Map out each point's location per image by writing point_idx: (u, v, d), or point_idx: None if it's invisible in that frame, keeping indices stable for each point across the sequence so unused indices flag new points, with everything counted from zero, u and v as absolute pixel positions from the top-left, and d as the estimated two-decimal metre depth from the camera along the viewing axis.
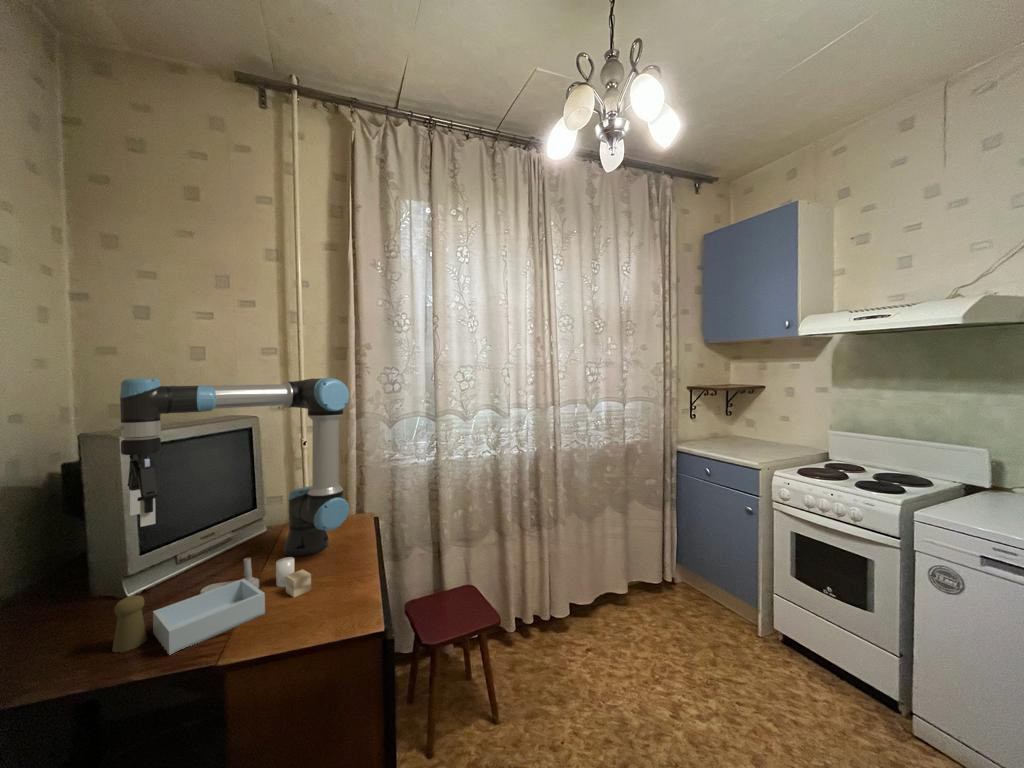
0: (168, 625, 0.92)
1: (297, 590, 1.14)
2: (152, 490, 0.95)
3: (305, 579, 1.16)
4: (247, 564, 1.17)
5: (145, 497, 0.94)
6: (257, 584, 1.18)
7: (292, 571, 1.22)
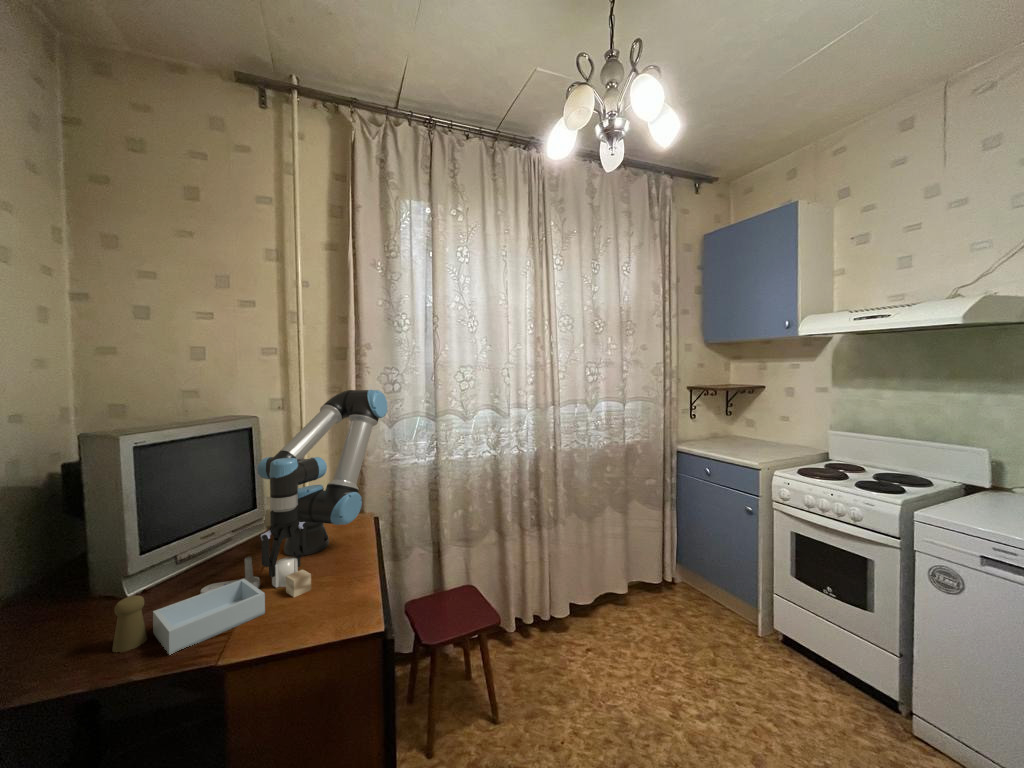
0: (168, 625, 0.92)
1: (297, 590, 1.14)
2: (263, 561, 1.17)
3: (305, 579, 1.16)
4: (248, 563, 1.18)
5: (262, 564, 1.18)
6: (258, 582, 1.19)
7: (292, 571, 1.22)
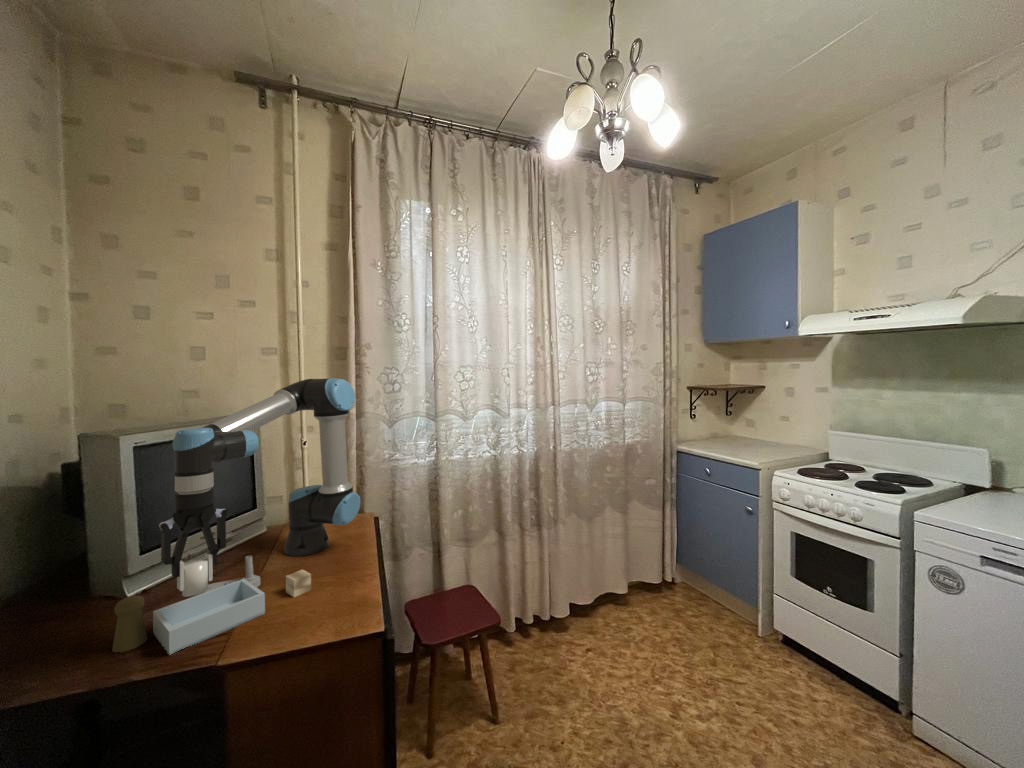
0: (168, 625, 0.92)
1: (297, 590, 1.14)
2: (163, 558, 0.91)
3: (305, 579, 1.16)
4: (249, 562, 1.19)
5: None
6: (259, 581, 1.20)
7: (203, 576, 0.96)
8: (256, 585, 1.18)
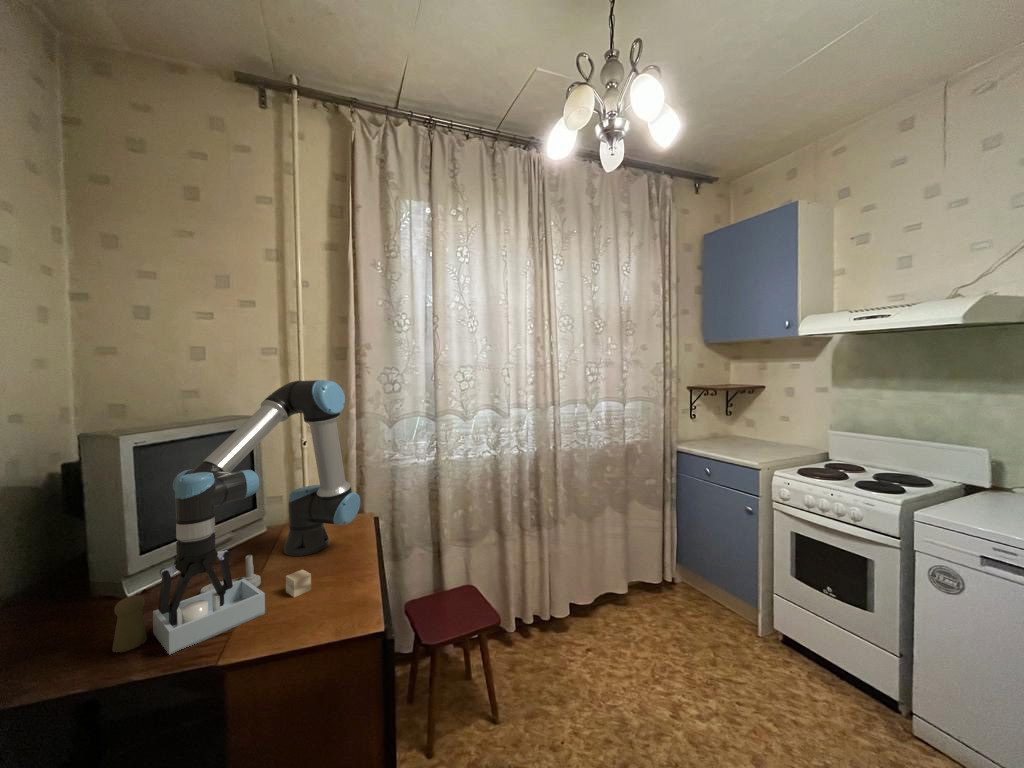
0: (168, 625, 0.92)
1: (297, 590, 1.14)
2: (160, 606, 0.91)
3: (305, 579, 1.16)
4: (249, 561, 1.19)
5: None
6: (259, 580, 1.20)
7: None
8: (257, 584, 1.19)
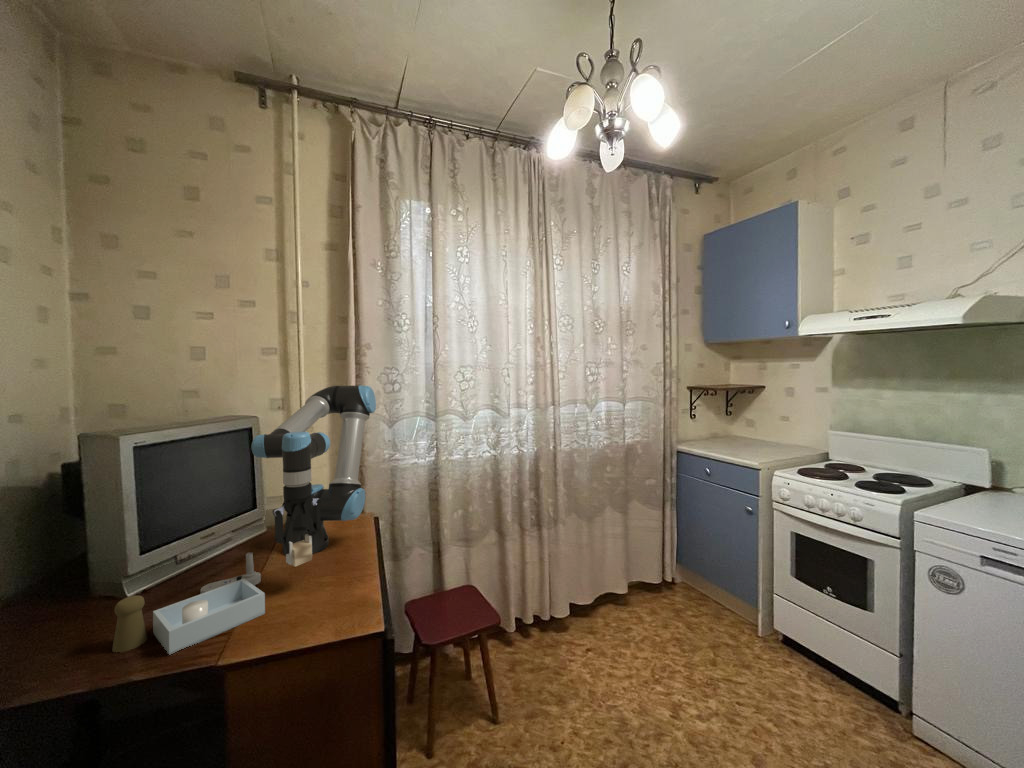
0: (168, 625, 0.92)
1: (298, 559, 1.15)
2: (277, 538, 1.12)
3: (306, 549, 1.17)
4: (250, 558, 1.21)
5: None
6: (260, 577, 1.22)
7: None
8: (258, 581, 1.21)
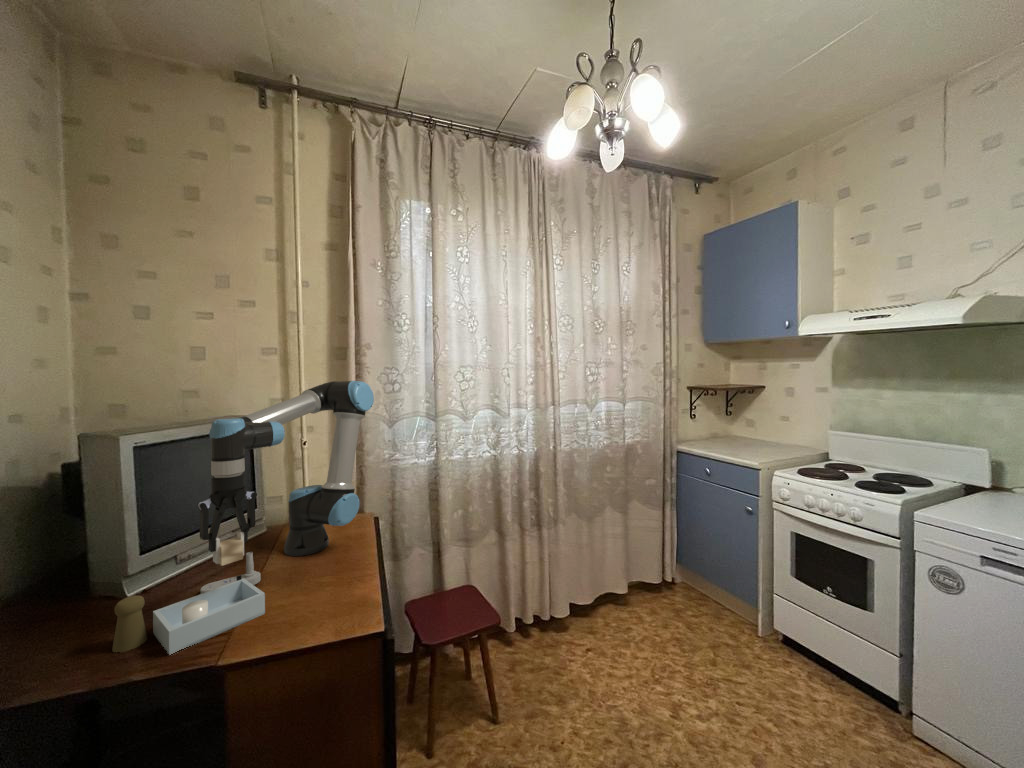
0: (168, 625, 0.92)
1: (225, 558, 1.04)
2: (201, 534, 1.02)
3: (236, 547, 1.06)
4: (250, 558, 1.21)
5: (200, 537, 1.03)
6: (260, 576, 1.23)
7: None
8: (258, 580, 1.22)
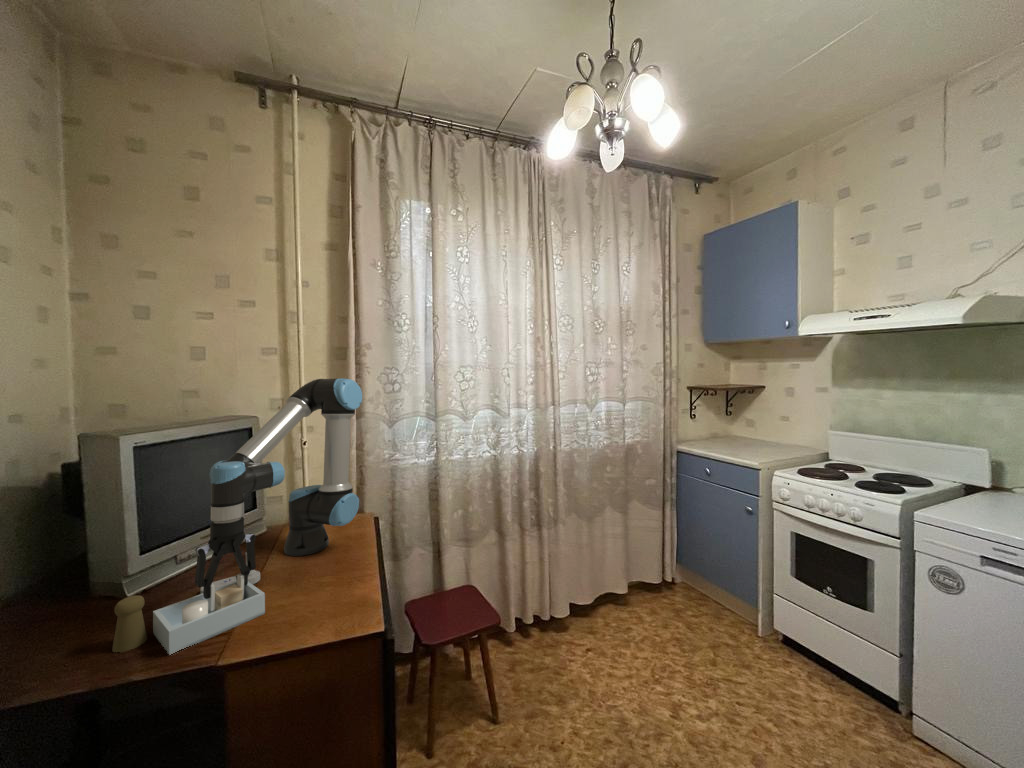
0: (168, 625, 0.92)
1: None
2: (197, 580, 1.01)
3: (235, 596, 1.06)
4: None
5: (195, 584, 1.02)
6: None
7: None
8: (258, 579, 1.22)
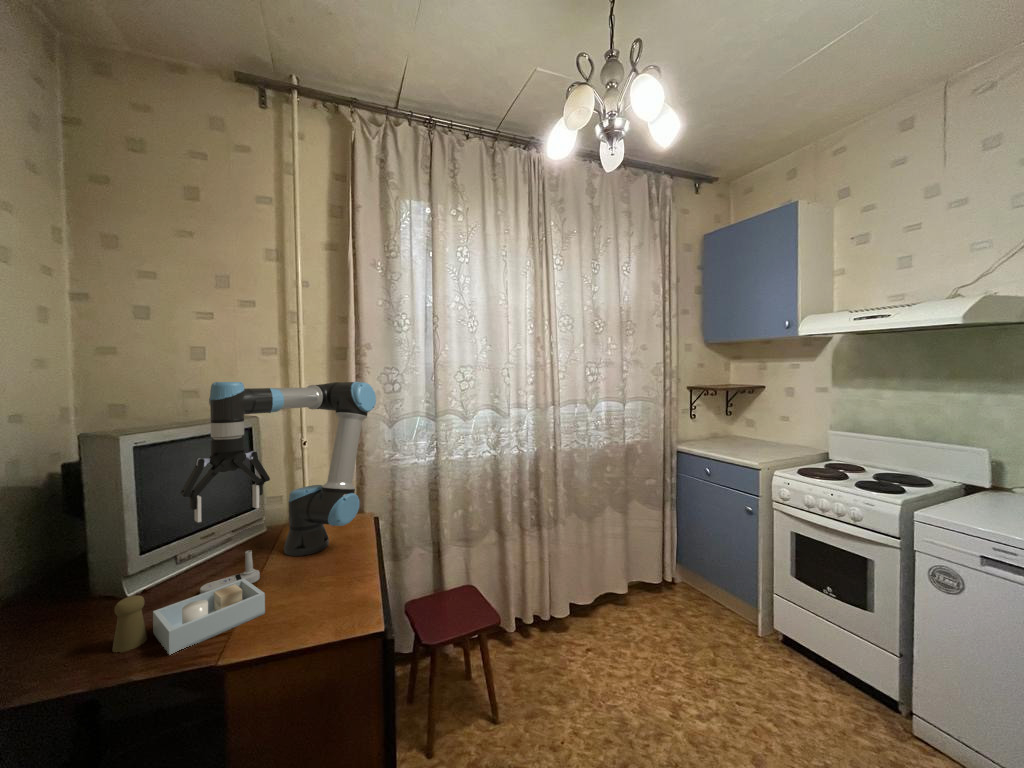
0: (168, 625, 0.92)
1: None
2: (184, 489, 0.99)
3: (235, 596, 1.06)
4: (250, 556, 1.23)
5: (180, 494, 1.00)
6: (259, 573, 1.24)
7: None
8: (258, 577, 1.23)
